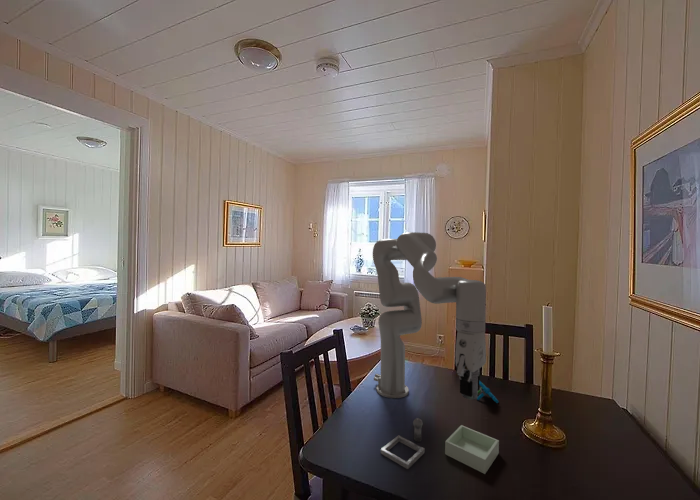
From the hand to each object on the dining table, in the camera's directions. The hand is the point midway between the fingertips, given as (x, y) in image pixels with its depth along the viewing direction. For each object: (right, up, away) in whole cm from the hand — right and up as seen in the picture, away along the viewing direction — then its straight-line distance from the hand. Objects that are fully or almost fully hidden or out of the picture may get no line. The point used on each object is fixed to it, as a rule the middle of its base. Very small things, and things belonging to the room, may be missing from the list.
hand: (469, 391), depth 84 cm
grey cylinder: (0, -1, 0) cm, 1 cm away
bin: (+1, -17, 0) cm, 17 cm away
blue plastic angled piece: (+18, -17, +30) cm, 39 cm away
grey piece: (-17, -17, +2) cm, 24 cm away
